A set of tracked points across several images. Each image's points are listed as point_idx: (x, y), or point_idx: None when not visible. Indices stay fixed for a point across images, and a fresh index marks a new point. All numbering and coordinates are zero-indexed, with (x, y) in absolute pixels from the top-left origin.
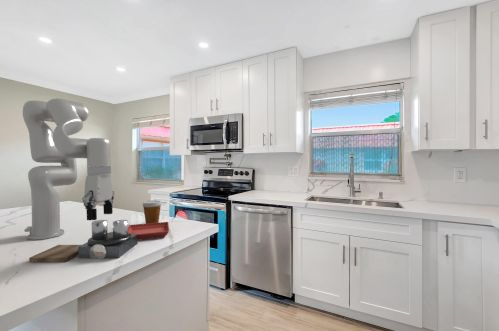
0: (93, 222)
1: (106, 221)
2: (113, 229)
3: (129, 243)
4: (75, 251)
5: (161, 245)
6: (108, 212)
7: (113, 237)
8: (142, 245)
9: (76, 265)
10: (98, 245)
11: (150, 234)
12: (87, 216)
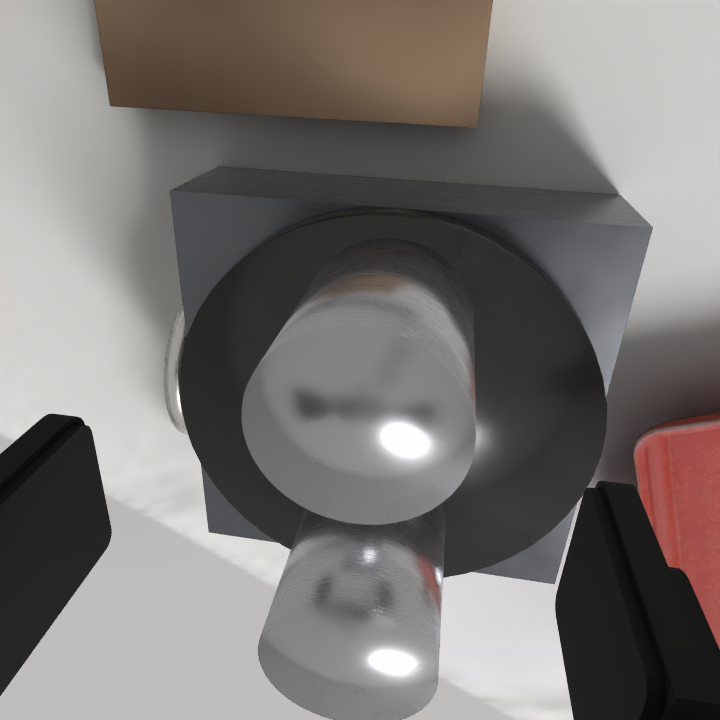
0: (289, 370)
1: (357, 522)
2: (297, 549)
3: None
4: (261, 96)
5: (468, 654)
6: (569, 588)
7: None
8: None
9: (92, 243)
10: (169, 403)
11: None
12: (12, 460)
